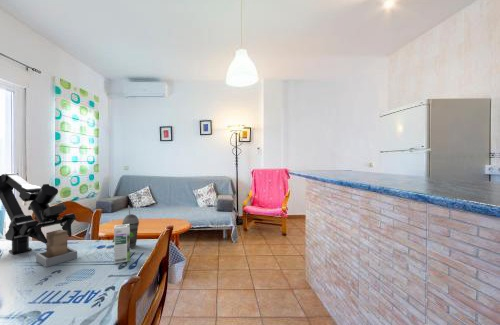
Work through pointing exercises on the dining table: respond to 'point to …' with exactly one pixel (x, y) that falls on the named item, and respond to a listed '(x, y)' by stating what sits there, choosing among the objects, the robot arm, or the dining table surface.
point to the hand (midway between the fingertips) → (59, 239)
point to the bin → (56, 257)
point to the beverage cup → (132, 227)
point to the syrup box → (121, 243)
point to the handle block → (56, 243)
